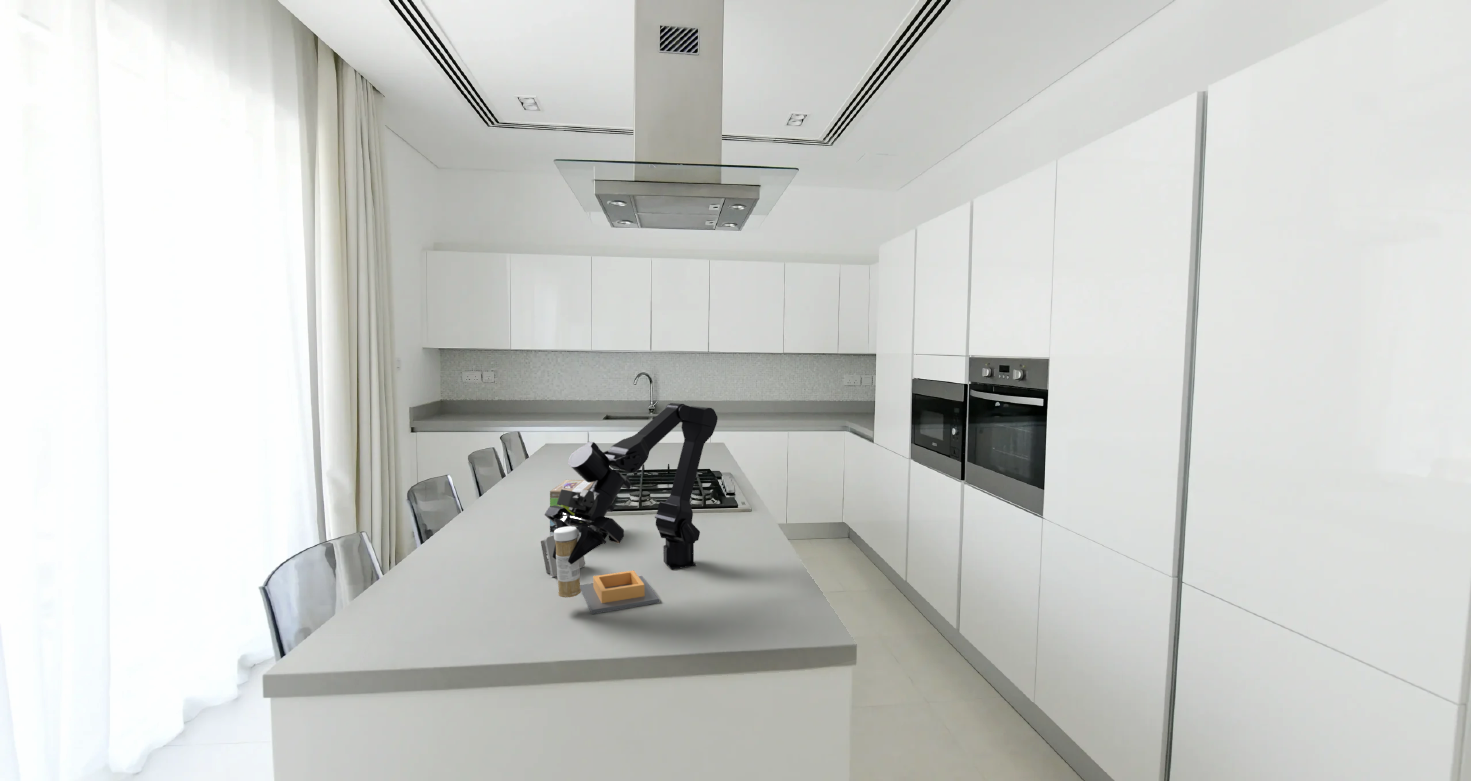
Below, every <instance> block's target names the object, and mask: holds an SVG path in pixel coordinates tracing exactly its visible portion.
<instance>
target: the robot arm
mask: <svg viewBox="0 0 1471 781" xmlns="http://www.w3.org/2000/svg"><path fill="white" fill-rule="evenodd" d="M718 420H719V419H718V415H717V413H716V411H715V409H714V408H712V407H707V406H706V407H704V406H694V405H691V406H689V405H686V404H684V403H679V402H678V403H677V402H669V403H668V404H666V405H665V408H664V409H663V410H661V412H660V413H658V414H657V415H656V416H655V417H654V418H653V419H652V420H650V421H649V422H647V424H646V425H644V427H642V429H640V430H639V431H637V433H635V434H634V435H632V436H629V437H626V438H623V439H621V440H620V441H618V442H616V443H614V444H613V445H611V446H610V448H609V449H608V450H605V451H602V450H601V449H600V448H599V445H597V443H595V441H587V442H586V443H585V444H584V445H582V446H580V447H579V448H577V449H576V450H575V451H573V452H572V453H571V454H570V456H569V458H568V466H569V467H570V468H571V469H572V470H573V471H574V472H576V474H578V475H579V476H580V477H581V478H582V480H585V481H587V482H593V484H592V486H591V487H590V489H589V490H582V491H581V493H577V492H573V491H568V490H563V489H561V492H560V495H559V498H558V501H557V505H564V506H567V507H570V508H569V510H570V511H571V512H572V513H574V516H573V515H572V514H571V513H570V512H569V511H568V510H567V509H565V508H564V507H559V506H555V505H554V506H550V505H549V507H548V508H547V510H546V511H545V513H544V516H545V517H546V518H547V519H548V520H549V521H550V520H551V521H552V522H553V523H554V524H555V525H556V526H557V528H561V527H568V526H572V527H575V526H578V527H581V536H580V538H579V540H578V542H577V544H576V546H575V547H574V549H573V551H572V553H571V555H570V557H569V560H568V562H569V563H570V564H573V563H574V562H576V561H577V560H579V559H580V558H581V557H583V556H584V557H585V555H587V554H588V553H590V552H592V551H593V550H595V549H596V548H598V547H600V546H601V545H606V544H607V540H606V538H607V536H608V540H609V542H611V543H616V544H618V545H619V544H621V542H622V540H623V539H624V537H625V530H624V528H623V527H622V526H621V525H620V524H619V523H618V522H617V521H616V520H614V518H611V517H606V515H607V513H608V512H611V513H612V512H613V511H614V509H615V507H614V506H613V505H612V504H613V503H614V502H615V499H616V497H617V496H618V494H619V492H620V491H621V490H622V489H627V490H630V489H631V488H632V487H631V486H632V485H631V482H630V476H628V475H623V473H621V472H620V471H622V472H625V473H626V472H627V473H637V472H638V471H640V470H641V468H642V467H643V465H644V464H645V463H646V462H647V460H648V459H649V454H650V452H651V450H652V449H653V448H654V447H655V446H656V445H657V444H659V443H660V441H661V440H663V439H664V438H665V437H666V436H667V435H668V434H669V433H671V431H673V429H675V428H676V427H677V426H678V425H679V424H680V423H681V431H682V435H683V444H682V448H681V451H680V456H679V459H678V460H679V461H678V464H677V467H676V470H675V475H674V479H673V483H672V487H671V491H670V493H669V494H670V495H669V497H668V498H667V499H666V500H665V501H664V502H663V501H659V503H658V506H657V512H656V514H655V515H654V519H655V527H656V528H657V531H658V533H659V536H660V538H661V539H664V540H665V544H664V545H663V546H662V548H663V549H662V550H663V553H662V554H663V562H664V564H665V565H666V566H667V567H668V568H669V569H670V570H675V569H676V570H677V569H684V568H690V567H695V566H697V563H696V561H695V558H694V556H695V555H694V552H695V551H694V544H695V543H696V542H697V541H699V540H700V534H701V532H700V530H699V529H698V528H697V527H696V525H695V524H693V516H694V513H693V509H692V505H691V497H692V493H693V489H694V485H695V481H696V478H697V473H698V470H699V467H700V466H699V464H700V461H701V457H702V455H703V454H702V453H703V449H704V445H705V444H706V443H707V441H709V439H710V438H711V437H712V436H713V434H714V432H715V429H716V426H717V424H718ZM581 522H582V523H581ZM578 536H579V535H578ZM553 558H554V559H556V543H555V548H554V552H553Z"/></svg>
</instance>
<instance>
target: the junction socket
mask: <svg viewBox="0 0 1471 781" xmlns="http://www.w3.org/2000/svg"><path fill="white" fill-rule="evenodd" d="M592 577H593V578H592V580H593V582H591V583H583V584H580V589H581V595H582V596H583V598H584V601H585V603H586V605H587V607H588V609H589V610H590V613H591V615H594V614H600V613H605V612H612V611H617V610H618V611H619V610H623V609H624V610H625V609H630V608H635V607H641V606H647V605H653V604H659V603H660V597H659V596H658V595H657V594H656V592H655V590H653V588H652V587H651V586H650V584H649V583H648V582H647V580H646V579H645V578H644V577H643V575H638V574H637V573H636V571H635V570H627V571H620V572H614V573H612V572H611V573H607V574H606V573H605V574H599V575H593V576H592Z"/></svg>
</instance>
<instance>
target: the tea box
mask: <svg viewBox="0 0 1471 781" xmlns="http://www.w3.org/2000/svg"><path fill="white" fill-rule="evenodd" d="M592 484H593V482H587V481H585V480H584V479H565V480H563V481H562V482H561V483H559V484H558V485H557V486H555V487H554V488H552V489H551V490H550V491H549V507H550V506H554V505H555V506H559V507H564V508H565V509H567V510H568V511H569V512H570V513H571V514H572V515H573V516H574V513H572V512H571V511H570V510H569V508H570V507H567V506H564V505H557V501H558V498H559V495H560V492H561V489H563V490H568V491H573V492H577V493H581V491H582V490H589V489H590V487H591V486H592ZM581 523H582V522H581ZM575 527H576V528H577V529H578V530H579V534H580V536H581V527H578V526H575ZM556 529H558V528H557V526H556V525H555V524H554V523H553V522H552V521H551V520H550V519H549V536H551V535H554V531H555V530H556Z"/></svg>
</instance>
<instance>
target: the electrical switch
mask: <svg viewBox="0 0 1471 781" xmlns="http://www.w3.org/2000/svg"><path fill="white" fill-rule="evenodd" d="M577 533H578V535H579V536H578V537H577V542H578V540H579V538H580V534H579V530H578V529H577ZM555 543H556V542H555V539H554V535H551V536H550V535H548V536H545V537H544V539H543V540H541V541H540V545H541V546H540V547H541V551H542V556H543V560H544V567H545V571H546V574H547V575H548V574H550V576H551V577H552V578H554V577H555V578H557V564H556V559H554V558H553V552H554V548H555ZM585 566H586V561H585V555H584V556H583V557H581V558H580V559H579V569H581V568H584V567H585Z"/></svg>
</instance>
